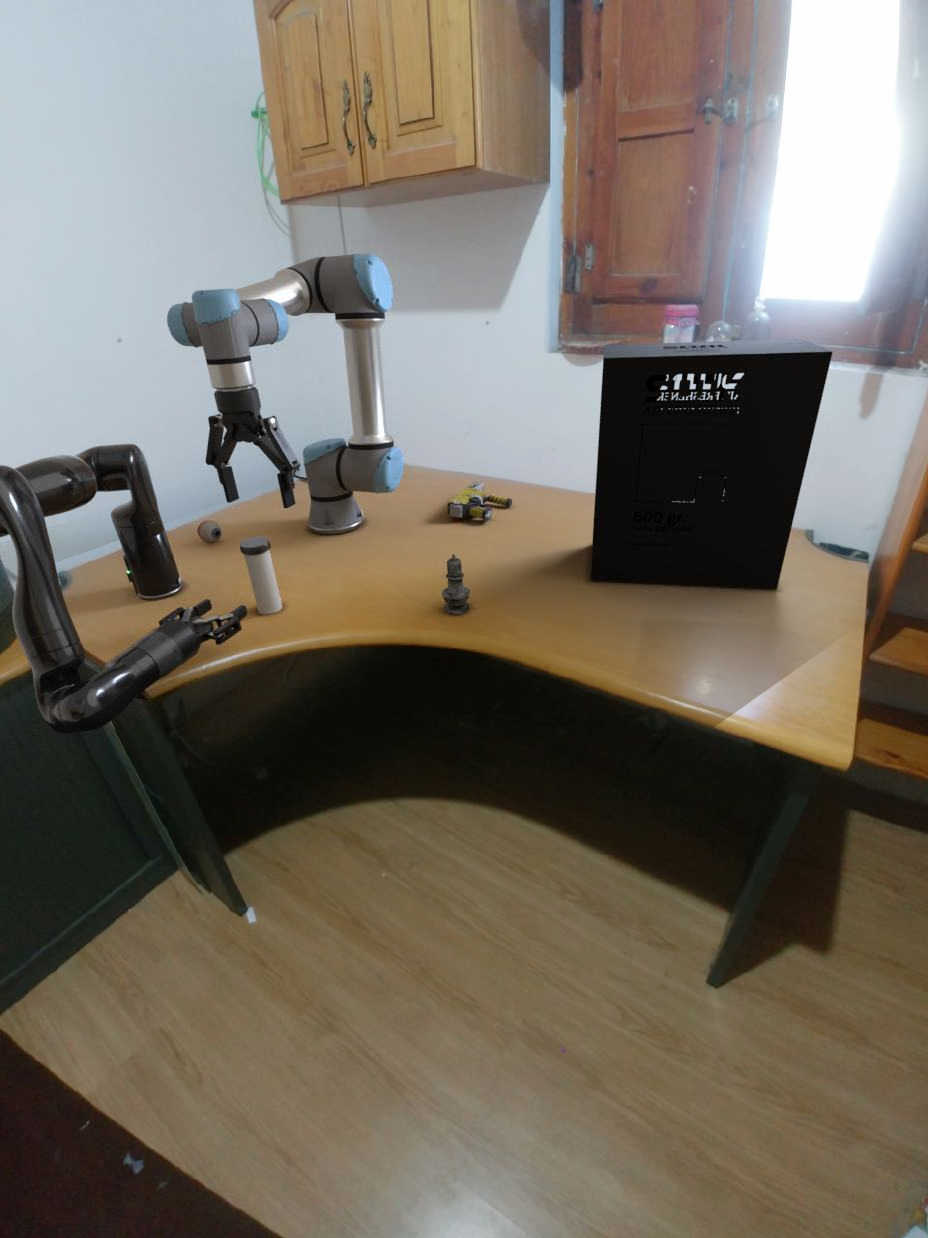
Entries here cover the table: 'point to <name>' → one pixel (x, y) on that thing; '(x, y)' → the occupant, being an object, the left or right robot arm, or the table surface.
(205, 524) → the eyeball
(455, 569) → the dark grey tiered figure
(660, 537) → the cardboard box
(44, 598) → the left robot arm
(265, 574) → the bottle
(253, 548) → the lid
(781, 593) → the table surface
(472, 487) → the toy gun
